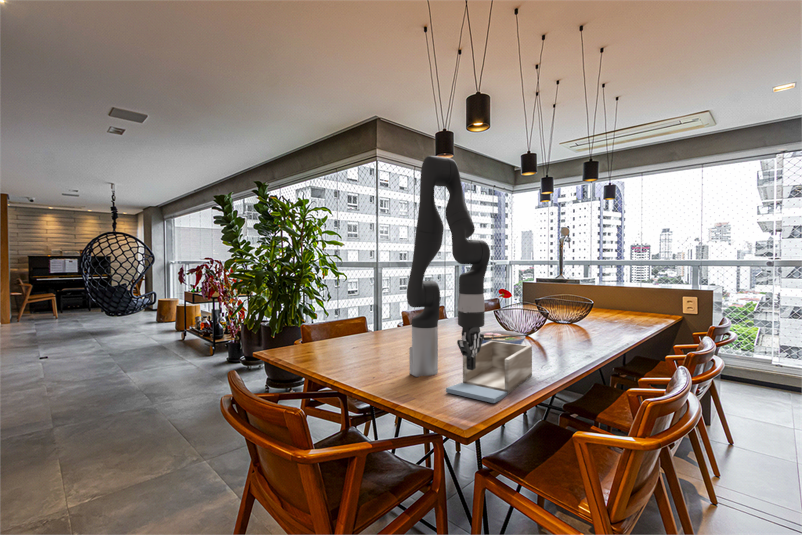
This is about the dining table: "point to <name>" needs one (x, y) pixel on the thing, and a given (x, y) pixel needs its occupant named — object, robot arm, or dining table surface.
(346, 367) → the dining table surface
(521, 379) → the crate
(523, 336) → the ramen bowl
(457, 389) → the grey panel
